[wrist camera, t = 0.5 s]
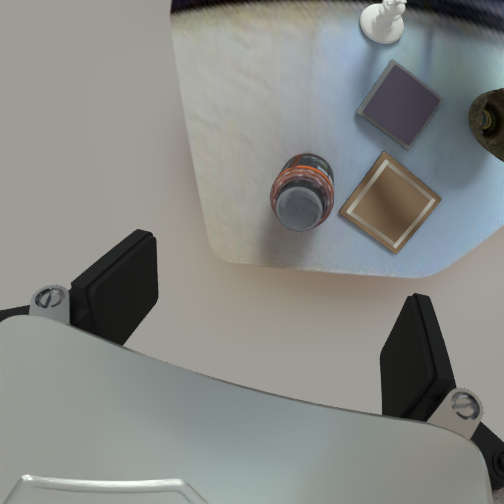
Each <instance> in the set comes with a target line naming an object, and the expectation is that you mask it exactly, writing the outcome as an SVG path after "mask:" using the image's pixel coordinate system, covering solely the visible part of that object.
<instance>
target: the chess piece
mask: <svg viewBox="0 0 504 504" xmlns="http://www.w3.org/2000/svg"><path fill="white" fill-rule="evenodd" d="M406 2H407V1H406V0H383V3H382V4H373V5H370V6H368V7H367V8H366V9H364V10H363V12H362V13H361V16H360V25H361V28H362V30H363V32H364V33H365V34H366V36H368V37H369V38H370V39H371V40H373V41H375V42H378V43H381V44H390V43H394V42H396V41H397V40H399V39H400V37H401V36H402V34H403V31H404V23H403V20H402V18H401V14H402V13H403V12H404V11H405V4H404V3H406Z"/></svg>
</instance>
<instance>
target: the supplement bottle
mask: <svg viewBox="0 0 504 504" xmlns="http://www.w3.org/2000/svg"><path fill="white" fill-rule="evenodd" d="M270 201H271V206H272V209H273V211H274V213H275V215H276V216H277V217H278V219H279V221H280V222H281V223H282V224H283V225H284V226H285V227H287V228H288V229H291V230H294V231H306V230H309V229H311V228H314V227H316V226H318V225H320V224H321V223H323V222H324V221H325V220H326V219H327V217H328V216H329V214H330V213H331V210H332V208H333V204H334V178H333V173H332V170H331V168H330V166H329V164H328V163H327V162H326V161H325V160H324V159H323V158H321V157H319V156H317V155H315V154H310V153H304V154H299V155H297V156H294V157H293V158H291V159H290V160H289V161H288V162H287V163H286V165H285V166H284V168H283V169H282V171H281V172H280V174H279V175H278V177H277V178H276V180H275V182H274V184H273V186H272V189H271V194H270Z"/></svg>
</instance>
